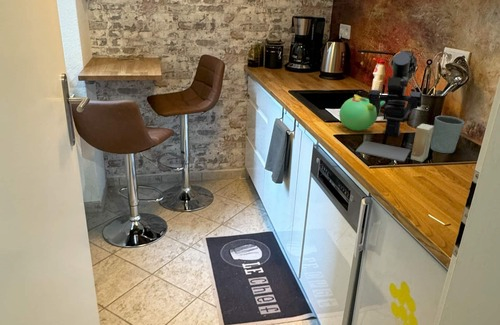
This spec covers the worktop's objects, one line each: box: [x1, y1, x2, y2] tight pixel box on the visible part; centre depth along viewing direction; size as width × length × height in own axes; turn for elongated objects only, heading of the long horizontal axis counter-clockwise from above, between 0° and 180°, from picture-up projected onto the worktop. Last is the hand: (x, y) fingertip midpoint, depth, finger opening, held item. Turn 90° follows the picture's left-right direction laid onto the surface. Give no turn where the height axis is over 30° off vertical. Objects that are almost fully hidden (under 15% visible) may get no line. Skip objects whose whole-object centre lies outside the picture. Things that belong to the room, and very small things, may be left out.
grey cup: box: [430, 115, 465, 154], centre depth 154 cm, size 10×10×12 cm
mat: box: [355, 140, 412, 162], centre depth 153 cm, size 13×18×1 cm
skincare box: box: [410, 123, 434, 163], centre depth 145 cm, size 6×4×12 cm
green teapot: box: [338, 94, 386, 132], centre depth 174 cm, size 18×17×15 cm
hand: (390, 116), depth 147 cm, fingers open, 9 cm apart
